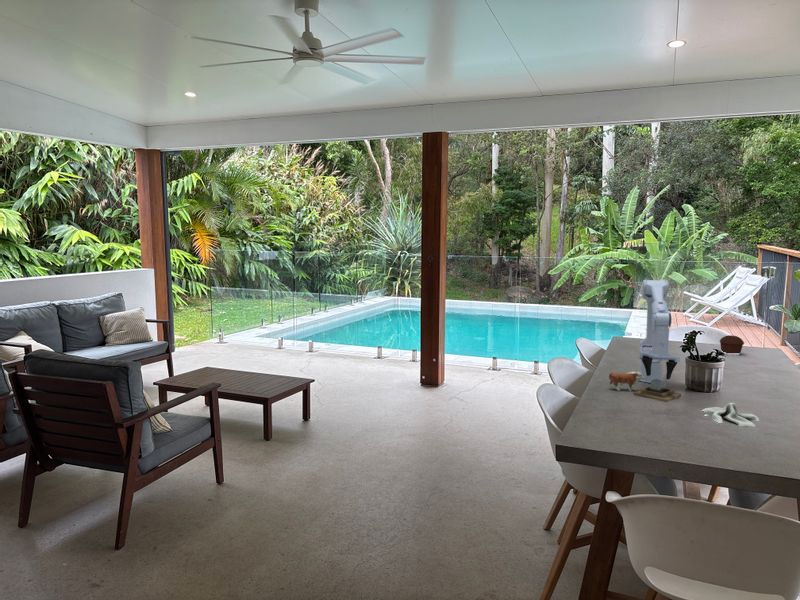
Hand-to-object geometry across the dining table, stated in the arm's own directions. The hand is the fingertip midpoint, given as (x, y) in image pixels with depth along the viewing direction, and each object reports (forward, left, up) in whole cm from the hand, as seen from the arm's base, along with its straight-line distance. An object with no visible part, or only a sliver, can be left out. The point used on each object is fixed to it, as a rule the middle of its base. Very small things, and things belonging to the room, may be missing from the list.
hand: (658, 377), depth 225 cm
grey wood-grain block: (0, 0, -6) cm, 6 cm away
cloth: (+12, +29, -8) cm, 32 cm away
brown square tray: (0, 0, -7) cm, 7 cm away
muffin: (-115, -8, -8) cm, 115 cm away
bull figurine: (+2, -12, -8) cm, 14 cm away
